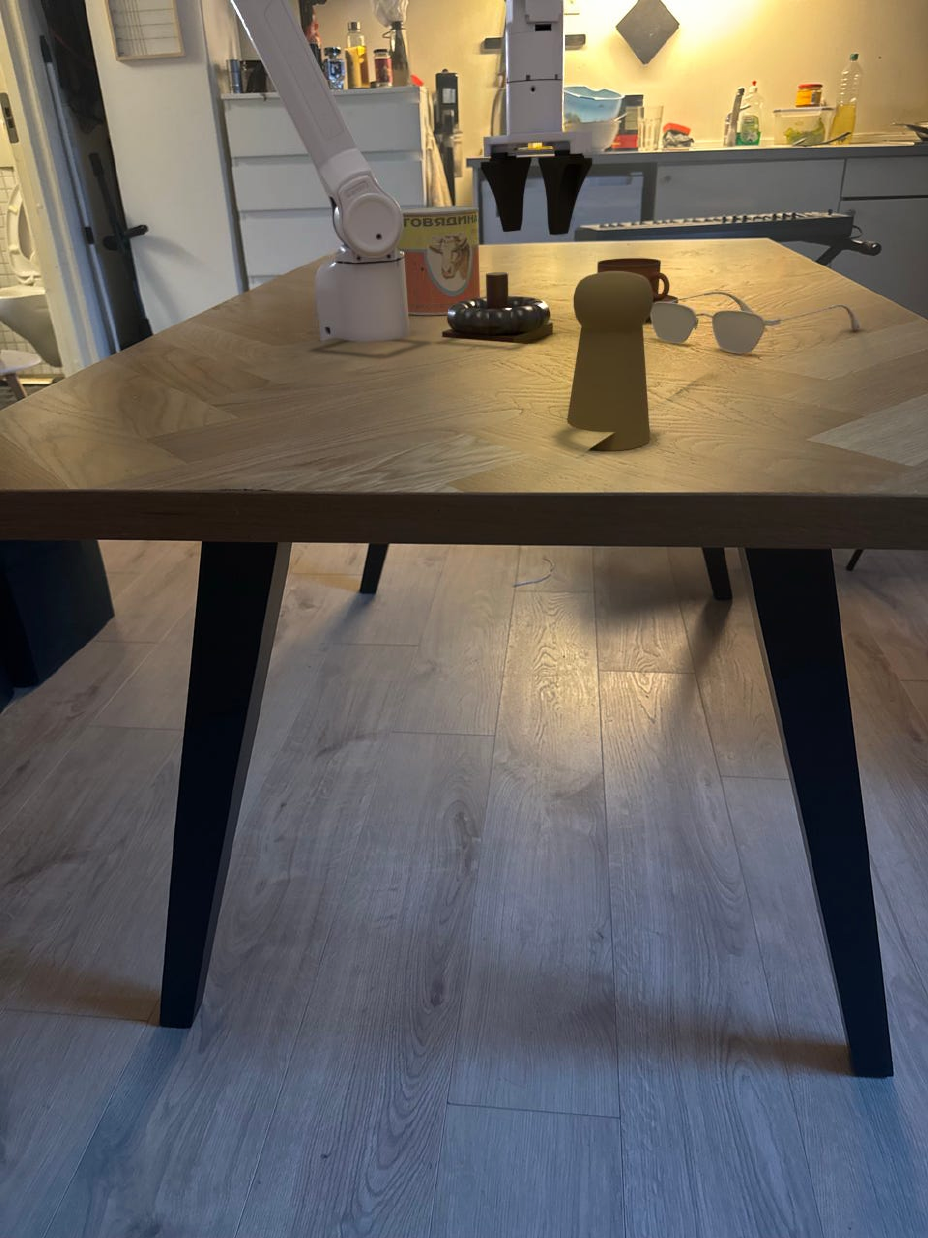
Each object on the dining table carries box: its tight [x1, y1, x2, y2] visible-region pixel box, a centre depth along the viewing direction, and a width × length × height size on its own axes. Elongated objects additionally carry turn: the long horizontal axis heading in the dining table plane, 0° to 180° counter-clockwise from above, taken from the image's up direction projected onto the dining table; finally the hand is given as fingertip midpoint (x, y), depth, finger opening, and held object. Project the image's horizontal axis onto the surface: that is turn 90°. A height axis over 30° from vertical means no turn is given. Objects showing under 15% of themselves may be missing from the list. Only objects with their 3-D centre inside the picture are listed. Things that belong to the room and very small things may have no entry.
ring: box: [446, 295, 551, 335], centre depth 93 cm, size 11×11×3 cm
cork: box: [566, 271, 653, 452], centre depth 58 cm, size 6×6×11 cm
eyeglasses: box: [649, 291, 861, 355], centre depth 90 cm, size 15×18×4 cm
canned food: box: [396, 205, 481, 316], centre depth 111 cm, size 11×11×12 cm
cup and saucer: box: [596, 257, 679, 319], centre depth 102 cm, size 12×12×6 cm
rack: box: [441, 271, 554, 345], centre depth 93 cm, size 9×9×7 cm
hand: (534, 232), depth 91 cm, fingers open, 7 cm apart
